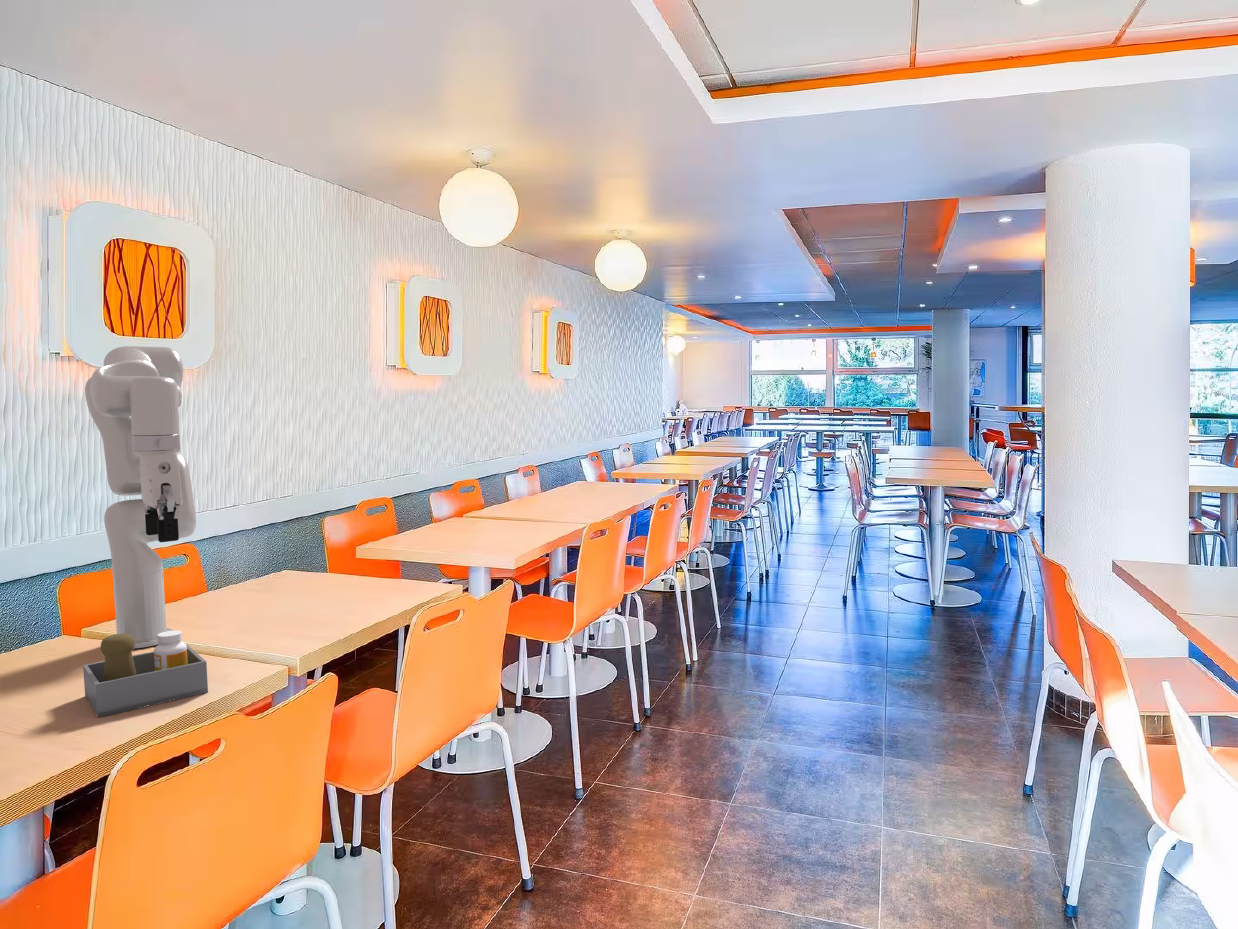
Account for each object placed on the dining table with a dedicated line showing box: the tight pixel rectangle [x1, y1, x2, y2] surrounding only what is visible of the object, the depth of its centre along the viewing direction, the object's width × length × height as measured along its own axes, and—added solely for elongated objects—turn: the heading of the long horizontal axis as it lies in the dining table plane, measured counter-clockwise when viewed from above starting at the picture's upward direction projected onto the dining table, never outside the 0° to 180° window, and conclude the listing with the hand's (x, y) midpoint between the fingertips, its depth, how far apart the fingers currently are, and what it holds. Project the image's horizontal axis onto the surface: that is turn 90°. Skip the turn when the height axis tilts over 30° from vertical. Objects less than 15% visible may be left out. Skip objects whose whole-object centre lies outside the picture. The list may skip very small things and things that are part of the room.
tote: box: [82, 644, 209, 719], centre depth 147 cm, size 13×17×6 cm
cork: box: [100, 633, 137, 682], centre depth 144 cm, size 6×6×11 cm
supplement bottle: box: [153, 629, 188, 671], centre depth 150 cm, size 5×5×10 cm
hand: (162, 537), depth 148 cm, fingers open, 9 cm apart
